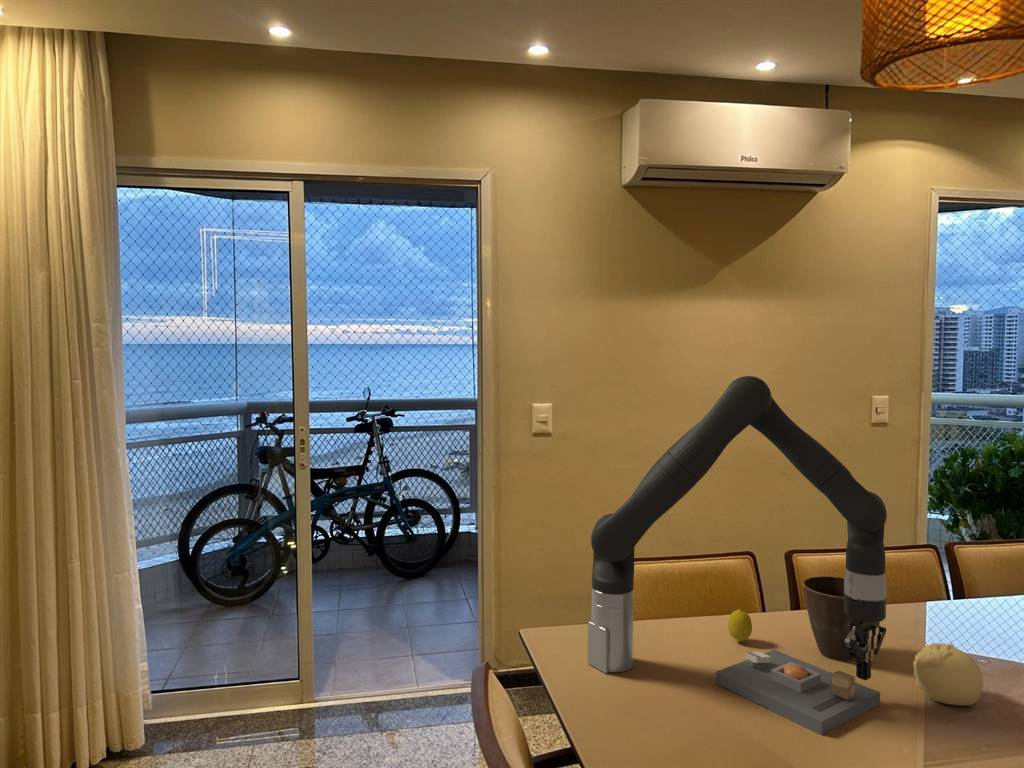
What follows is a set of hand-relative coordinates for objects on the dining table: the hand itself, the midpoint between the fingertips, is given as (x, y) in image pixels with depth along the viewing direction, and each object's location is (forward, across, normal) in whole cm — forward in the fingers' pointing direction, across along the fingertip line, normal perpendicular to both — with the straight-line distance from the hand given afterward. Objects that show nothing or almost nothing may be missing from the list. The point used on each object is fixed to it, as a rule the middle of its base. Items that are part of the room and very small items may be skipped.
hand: (863, 678), depth 138 cm
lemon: (+5, -3, -32) cm, 33 cm away
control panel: (+4, +9, -9) cm, 14 cm away
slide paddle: (+2, +7, 0) cm, 7 cm away
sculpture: (+5, -15, +9) cm, 18 cm away
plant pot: (+5, -16, -15) cm, 22 cm away
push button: (+1, +9, -9) cm, 13 cm away
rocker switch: (0, +9, -18) cm, 20 cm away
